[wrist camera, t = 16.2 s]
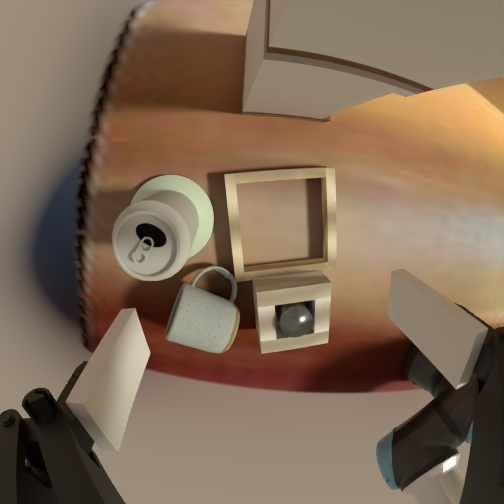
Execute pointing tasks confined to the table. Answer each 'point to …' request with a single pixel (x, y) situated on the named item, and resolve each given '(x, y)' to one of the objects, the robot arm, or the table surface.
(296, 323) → the glossy grey oval piece
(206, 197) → the pad
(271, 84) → the tall seamed white tower
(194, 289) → the ceramic mug
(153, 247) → the can
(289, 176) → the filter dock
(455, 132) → the table surface
